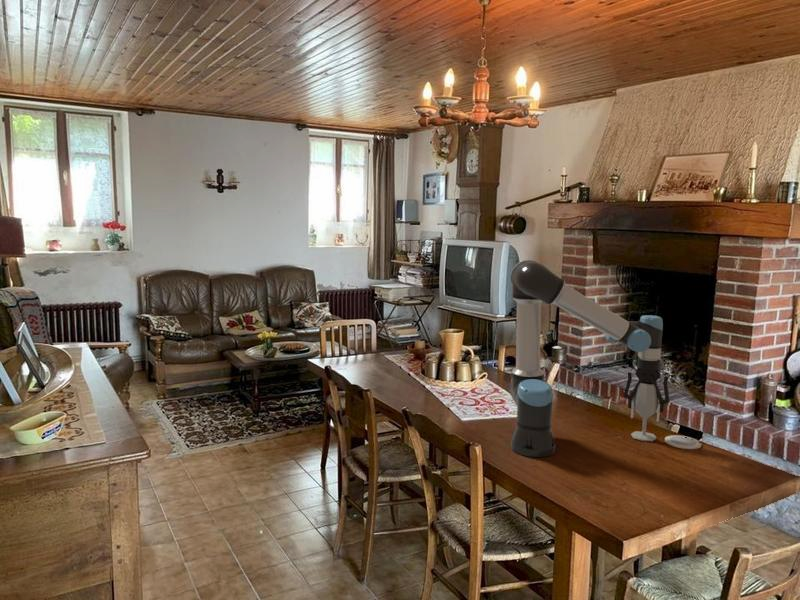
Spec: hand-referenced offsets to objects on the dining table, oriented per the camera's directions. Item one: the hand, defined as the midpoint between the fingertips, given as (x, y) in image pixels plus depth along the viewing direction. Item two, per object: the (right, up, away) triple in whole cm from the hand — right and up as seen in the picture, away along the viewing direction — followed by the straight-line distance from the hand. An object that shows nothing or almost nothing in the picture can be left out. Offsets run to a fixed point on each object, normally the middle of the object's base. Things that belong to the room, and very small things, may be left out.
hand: (644, 418), depth 219 cm
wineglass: (0, -7, +1) cm, 7 cm away
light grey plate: (+12, -8, -4) cm, 15 cm away
